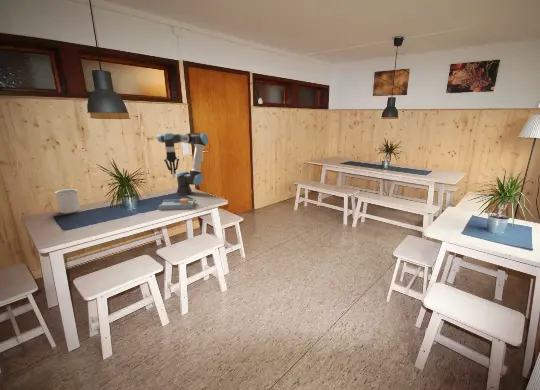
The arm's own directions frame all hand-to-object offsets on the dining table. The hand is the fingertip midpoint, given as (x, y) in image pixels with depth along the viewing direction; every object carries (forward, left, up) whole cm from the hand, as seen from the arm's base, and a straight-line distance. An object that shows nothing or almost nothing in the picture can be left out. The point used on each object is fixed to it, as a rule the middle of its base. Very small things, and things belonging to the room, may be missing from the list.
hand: (174, 177), depth 234 cm
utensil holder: (+10, -85, -25) cm, 90 cm away
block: (+8, +9, -22) cm, 25 cm away
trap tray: (+8, +3, -25) cm, 26 cm away
